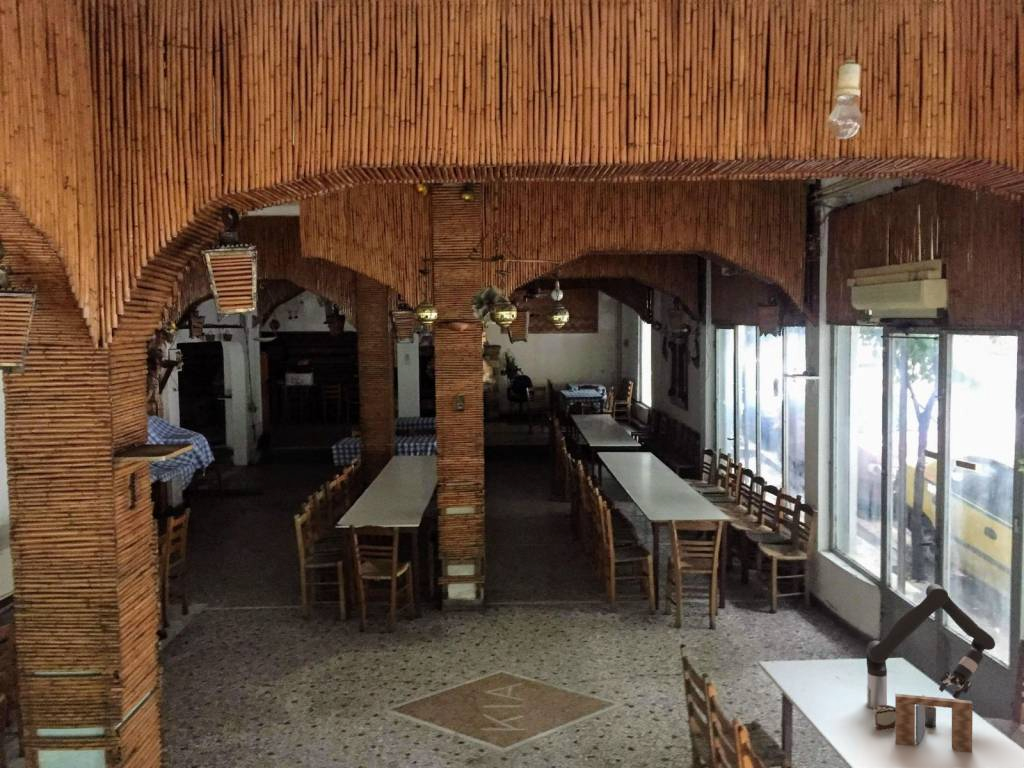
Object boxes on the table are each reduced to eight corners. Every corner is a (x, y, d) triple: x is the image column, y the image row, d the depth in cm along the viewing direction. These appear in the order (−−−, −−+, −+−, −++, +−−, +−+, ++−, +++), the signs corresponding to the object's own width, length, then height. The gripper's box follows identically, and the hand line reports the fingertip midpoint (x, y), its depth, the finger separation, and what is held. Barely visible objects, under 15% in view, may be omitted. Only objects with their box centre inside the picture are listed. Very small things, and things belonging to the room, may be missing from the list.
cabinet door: (918, 743, 397) (918, 706, 395) (912, 742, 398) (912, 704, 397) (924, 732, 408) (925, 695, 407) (919, 730, 409) (919, 694, 408)
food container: (889, 722, 419) (889, 702, 419) (897, 728, 413) (897, 708, 413) (867, 725, 417) (867, 705, 416) (875, 731, 411) (875, 711, 410)
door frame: (896, 744, 398) (896, 696, 396) (895, 741, 401) (895, 693, 399) (972, 752, 388) (972, 703, 387) (970, 749, 391) (971, 700, 390)
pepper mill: (924, 727, 413) (924, 705, 413) (922, 722, 419) (922, 701, 418) (936, 728, 412) (937, 707, 411) (934, 723, 417) (935, 702, 416)
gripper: (950, 658, 426) (931, 684, 424) (973, 669, 413) (954, 695, 410) (958, 667, 428) (940, 693, 425) (981, 678, 415) (963, 704, 412)
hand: (947, 694), depth 418 cm, fingers open, 8 cm apart
